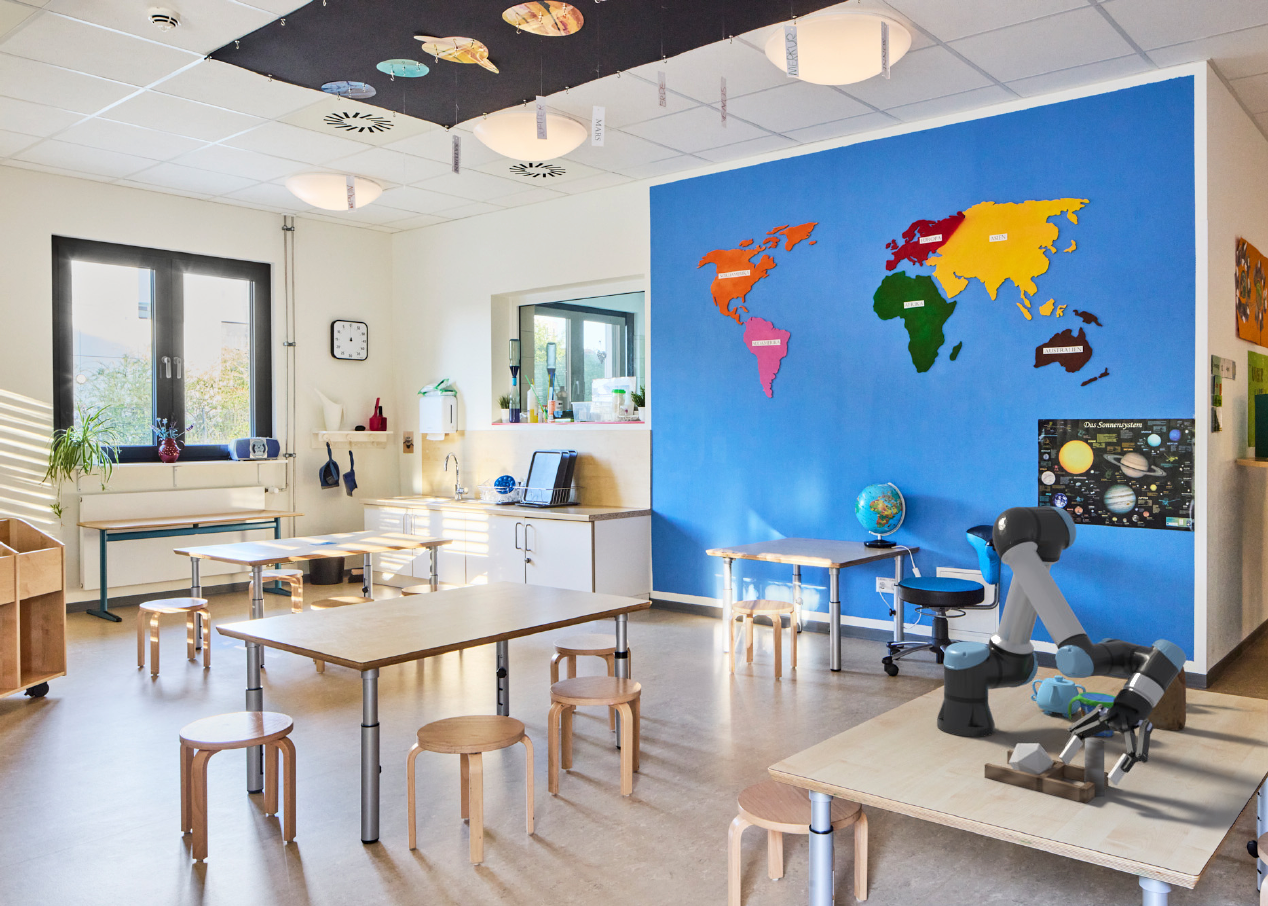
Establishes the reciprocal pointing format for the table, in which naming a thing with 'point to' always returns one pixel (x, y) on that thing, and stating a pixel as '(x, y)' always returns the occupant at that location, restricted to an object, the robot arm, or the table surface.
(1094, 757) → the frame
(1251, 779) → the table surface
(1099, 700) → the snack cup
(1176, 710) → the block
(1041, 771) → the die
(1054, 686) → the teapot
